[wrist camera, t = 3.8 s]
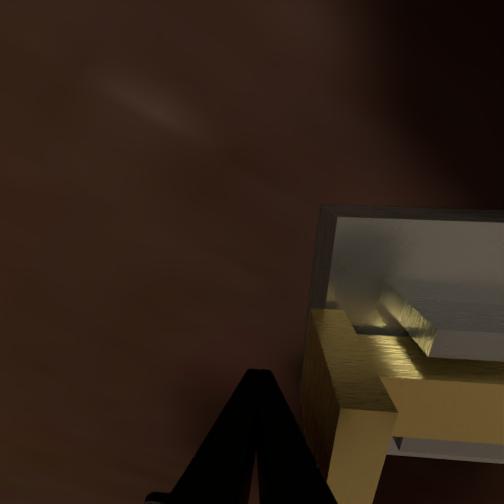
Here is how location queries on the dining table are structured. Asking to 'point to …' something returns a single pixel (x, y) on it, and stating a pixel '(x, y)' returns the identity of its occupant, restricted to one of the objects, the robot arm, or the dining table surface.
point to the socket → (417, 289)
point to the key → (387, 401)
